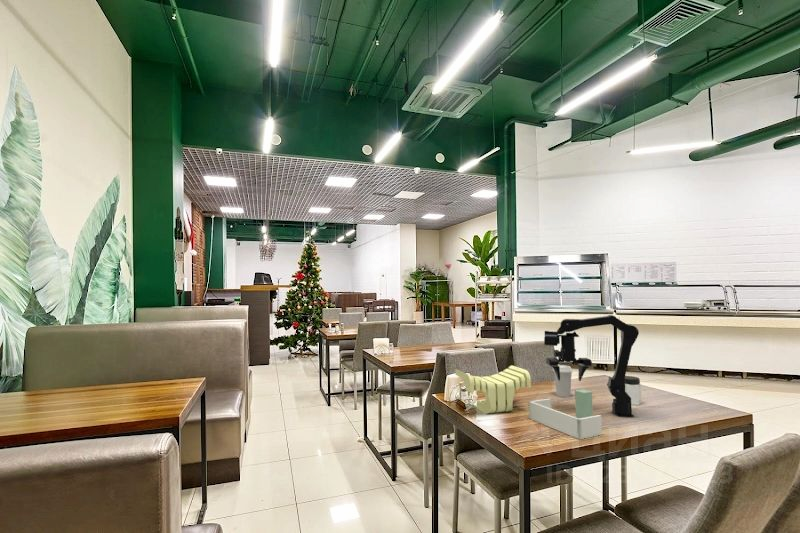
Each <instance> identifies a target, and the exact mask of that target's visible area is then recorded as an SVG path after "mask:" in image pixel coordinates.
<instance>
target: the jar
mask: <svg viewBox="0 0 800 533" xmlns="http://www.w3.org/2000/svg"><path fill="white" fill-rule="evenodd" d="M640 382H641V381H640V378H639V377H638V376H632V375H625V392H626V393H627V394H628V395H629V396H630V397H631V406H639V405H642V404H643V402H642V387H641V386H642V385H641V384H642V383H640Z"/></svg>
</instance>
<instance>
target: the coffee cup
mask: <svg viewBox="0 0 800 533" xmlns="http://www.w3.org/2000/svg"><path fill="white" fill-rule="evenodd" d="M558 366H559V367H560V381H559V380H558V378H557V376H556V373H555V371H554V369H553V368H552V371H553V375H554V376H553V377H554V382H555V384H554V385H555V391H556V392H555V393H556V396H557V397H559V398H565V399H566V397H568V398H571V394H572V393H571V392H572V391H571V390H572V373H573V368H572V367H571V366H569V365H566V364H558Z"/></svg>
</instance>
